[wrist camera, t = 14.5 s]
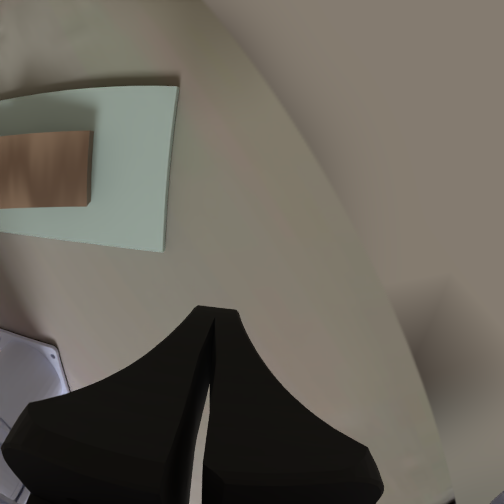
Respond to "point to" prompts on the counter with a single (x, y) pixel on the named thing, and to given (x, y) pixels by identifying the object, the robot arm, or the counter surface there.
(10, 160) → the domino
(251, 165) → the counter surface
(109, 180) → the board
